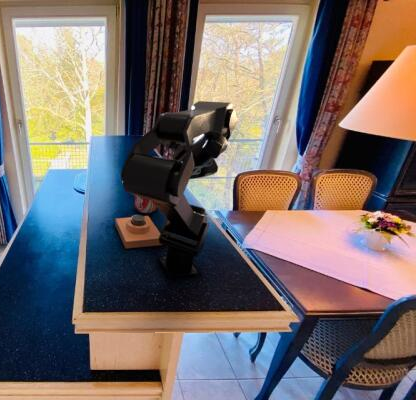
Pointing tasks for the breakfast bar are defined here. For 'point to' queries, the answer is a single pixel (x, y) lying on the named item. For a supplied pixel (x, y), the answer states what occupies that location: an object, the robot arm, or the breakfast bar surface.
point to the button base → (137, 233)
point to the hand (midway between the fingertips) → (165, 181)
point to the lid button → (138, 220)
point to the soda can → (144, 205)
